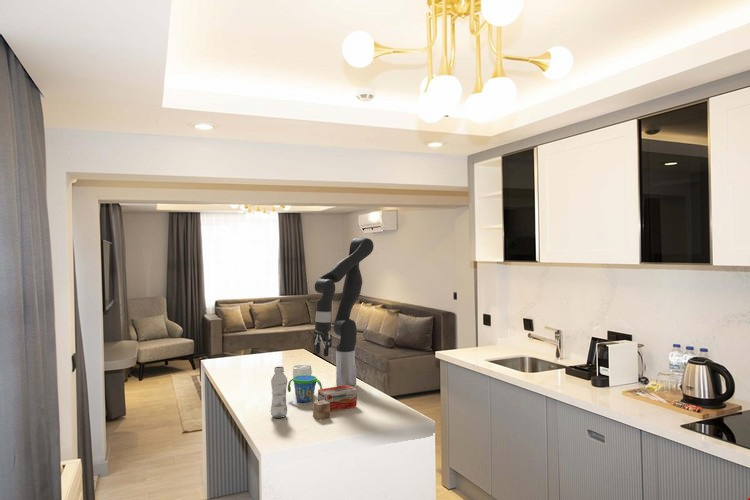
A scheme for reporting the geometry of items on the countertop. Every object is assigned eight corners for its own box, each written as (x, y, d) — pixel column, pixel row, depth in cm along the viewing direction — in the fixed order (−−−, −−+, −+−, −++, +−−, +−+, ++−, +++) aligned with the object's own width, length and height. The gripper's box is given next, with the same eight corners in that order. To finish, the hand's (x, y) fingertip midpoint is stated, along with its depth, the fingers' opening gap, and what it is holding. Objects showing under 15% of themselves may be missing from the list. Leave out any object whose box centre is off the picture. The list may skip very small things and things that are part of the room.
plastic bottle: (271, 414, 210) (271, 365, 210) (288, 414, 210) (288, 365, 210) (269, 419, 203) (269, 369, 203) (286, 419, 204) (286, 369, 204)
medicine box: (325, 413, 212) (325, 393, 212) (317, 407, 219) (317, 389, 219) (357, 407, 220) (357, 388, 220) (348, 402, 227) (348, 384, 227)
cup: (308, 395, 238) (308, 369, 238) (289, 394, 240) (289, 368, 240) (314, 390, 247) (314, 365, 247) (296, 389, 249) (296, 364, 249)
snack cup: (325, 398, 232) (325, 376, 233) (316, 405, 222) (316, 381, 222) (294, 395, 237) (294, 373, 237) (283, 402, 227) (283, 379, 227)
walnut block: (323, 414, 210) (323, 400, 210) (329, 417, 206) (329, 402, 206) (313, 416, 207) (312, 402, 207) (318, 420, 203) (318, 405, 203)
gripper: (337, 322, 241) (335, 356, 241) (323, 319, 253) (321, 351, 252) (323, 322, 237) (321, 357, 236) (309, 319, 249) (307, 352, 248)
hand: (321, 354), depth 244 cm, fingers open, 8 cm apart
